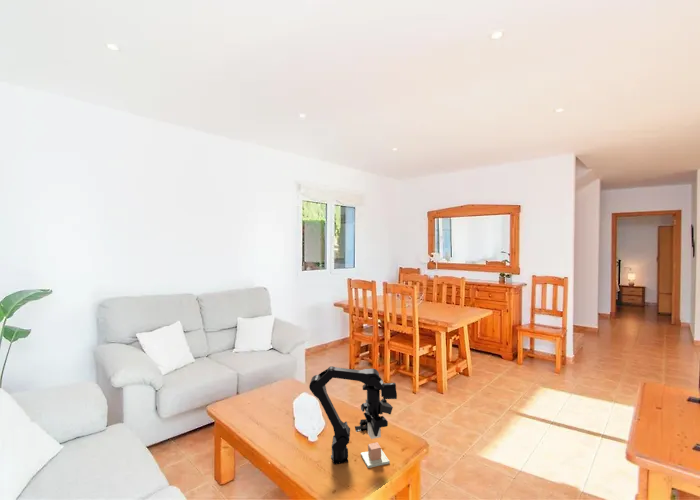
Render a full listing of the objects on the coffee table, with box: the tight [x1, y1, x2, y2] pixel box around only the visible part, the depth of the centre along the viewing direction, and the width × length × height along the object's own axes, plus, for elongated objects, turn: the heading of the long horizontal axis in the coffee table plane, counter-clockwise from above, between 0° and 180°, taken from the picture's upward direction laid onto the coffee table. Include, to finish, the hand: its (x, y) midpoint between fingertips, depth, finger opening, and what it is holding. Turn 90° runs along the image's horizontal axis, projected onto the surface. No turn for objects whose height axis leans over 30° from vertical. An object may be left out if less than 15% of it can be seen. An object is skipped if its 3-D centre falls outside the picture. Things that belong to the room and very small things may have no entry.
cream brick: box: [367, 423, 382, 440], centre depth 163 cm, size 4×4×5 cm
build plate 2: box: [354, 418, 368, 433], centre depth 190 cm, size 12×7×5 cm, turn 96°
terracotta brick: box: [367, 441, 382, 461], centre depth 163 cm, size 4×4×5 cm
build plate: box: [360, 448, 391, 469], centre depth 163 cm, size 10×10×1 cm
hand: (374, 433), depth 163 cm, fingers closed on cream brick, 4 cm apart
